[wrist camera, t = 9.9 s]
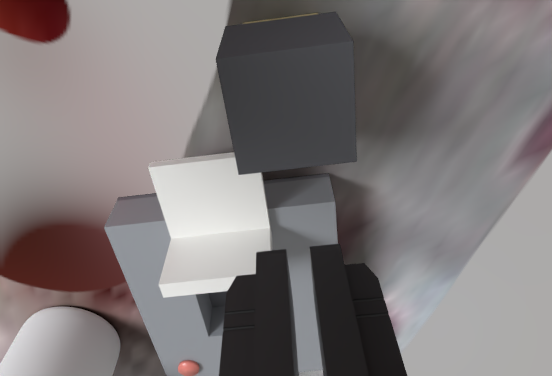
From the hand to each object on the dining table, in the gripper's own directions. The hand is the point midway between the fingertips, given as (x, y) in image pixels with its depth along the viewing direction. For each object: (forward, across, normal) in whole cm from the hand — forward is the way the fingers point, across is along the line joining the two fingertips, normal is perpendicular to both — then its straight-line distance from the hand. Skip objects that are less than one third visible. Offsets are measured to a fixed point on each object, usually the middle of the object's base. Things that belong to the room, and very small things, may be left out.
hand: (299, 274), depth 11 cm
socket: (+17, +4, +16) cm, 24 cm away
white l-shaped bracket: (+14, +5, +7) cm, 16 cm away
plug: (+17, 0, 0) cm, 17 cm away
